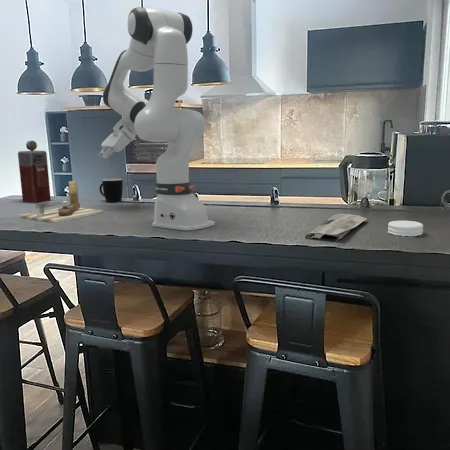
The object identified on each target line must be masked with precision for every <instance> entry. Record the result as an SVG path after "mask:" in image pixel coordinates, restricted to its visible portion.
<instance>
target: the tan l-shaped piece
mask: <svg viewBox="0 0 450 450" xmlns="http://www.w3.org/2000/svg"><path fill="white" fill-rule="evenodd" d="M78 189H79V188H78V181H77V180H71V181H70V180H69V181H68V192H69V203H68V204H67V207H68V208H62V207H58V208H59V209H58V213H59V215H69V214H72V212H73V211H75V210H77V209H79V208H81V206H80V202H79V194H78V193H79V192H78V191H79V190H78Z"/></svg>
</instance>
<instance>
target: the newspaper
mask: <svg viewBox="0 0 450 450" xmlns="http://www.w3.org/2000/svg"><path fill="white" fill-rule="evenodd" d="M367 219H368V217H363V216H361V215H359V214H349V213H347V214H346V213H338V214H334V215H332V216H330V217H329V218H328V219H326V220H325V221H324V222H322V223H321V224H319V225H318V226H317V227H315V228H314V229H312V230H310V231H309V232H308V233H307V234H305V236H304V238H306V237H307V238H306V239H308V238H310V239H311V237H312V236H314V235H315V234H326V235H327V236H332V237H336V238H337V237H338V239H337V240H336V239H335V240H336V242H338V241H339V240H341V239H342V238H343V237H344V236H346V235H347V234H348V233H349V232H350V231H352V229H354V228H357V226H359V225H360V224H361V223H364V221H366V220H367Z"/></svg>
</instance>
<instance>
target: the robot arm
mask: <svg viewBox="0 0 450 450" xmlns="http://www.w3.org/2000/svg"><path fill="white" fill-rule="evenodd" d="M193 27H194V26H193V22H192V20H191V18H190V17H189V16H188V15H187V14H184V13H183V12H175V11H171V10H166V9H164V8H157V7H156V8H154V7H153V8H152V7H150V8H149V7H144V6H142V7H141V6H139V7H133V8H132V9H131V10H130V12H129V13H128V17H127V32H128V34H129V36H130V41H129V46H128V48H127V49H125V50H122V51H121V53H120V54H119V56H118V57H117V59H116V62H115V64H114V67H113V70H112V72H111V74H110V78H109V80H108V83H107V85H106V87H105V88H104V90H103V92H102V100H103V104H104V105H105V106H106V107H108V108H110V109H112V111H113V110H114V112H116V113H118V114H119V115H120V116H121V117H122V118H121V119H119V120H118V121H117V123H115V124H114V126H113V127H112V130H113V131H112V133H110V135H108V137H106V138H105V139H104V141H103V142H102V143H101V145H100V146H101V147H102V148H101V151H100V153H98V157H99V158H101V159H102V158H103V159H105V160H107V158H108V157H110V156H111V155H112V154H113V153H114V152H115V153H120V152H121V151H123V150H124V149H125V148H126V146H128V145H129V144H130V142H133V141H135V139H136V136H137V137H139V138H140V139H141V141H146V142H151V143H166V142H168V146H167V149H166V150H165V152H163V153H162V154H161V155H159V156H158V158H157V159H156V162H155V167H156V168H155V169H156V183H155V193H156V199H155V201H154V213H153V215H154V216H153V222H152V224H151V226H152V227H155V228H163V229H170V230H179V231H196V230H201V229H206V228H210V227H213V226H215V225H216V222H215V220H214V221H213V220H210V219H209V215H208V209H207V207H206V205H205V204H204V203H202V202H201V200H200V199H198V197H197V196H195V194H194V191H193V190H195V185H194V184H193V185H191V182H190V176H189V175H190V174H189V173H190V157H191V153H192V150H193V148H194V146H195V144H197V142H198V140H199V139H200V138H201V137H202V136H203V134H204V132H205V129H206V121H205V118H204V116H203V114H202V113H201V112H199V111H197V110H193V109H189V108H175V104H176V101H177V100H178V98H179V97H181V96H182V95H184V94H185V93H186V92H187V91H188V86H189V85H188V84H189V83H188V81H189V78H188V77H189V76H188V75H189V74H188V73H189V70H188V69H189V66H188V65H189V63H188V62H189V59H188V57H189V56H188V55H189V54H188V48H187V47H188V46H187V44H188V43H189V42H190V41H191V39H192V37H193ZM150 70H153V85H152V90H151V91H152V92H151V95H150V98H149V100H148V99H146V98H140V97H138V96H137V95H135V94H134V93H132V92H131V91H129V90H128V89H127V88H126V87H125V85H124V82H125V80H126V78H127V75H128V72H129V71H133V72H134V71H135V72H141V73H142V72H148V71H150Z"/></svg>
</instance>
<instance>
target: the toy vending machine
mask: <svg viewBox="0 0 450 450" xmlns="http://www.w3.org/2000/svg"><path fill="white" fill-rule="evenodd" d="M25 146H26V149H27V150H22V151H21V150H20V151H18V153H17V158H18V168H19V179H20V187H21V197H22V203H27V202H28V204H39V203H46V202H52V201H51V189H50V177H49V164H48V158H47V157H48V154H47V151H46V150H36V149H37V148H38V147H37V146H38V144H37V142H36V141H34V140H28V141H27V142H26V144H25Z"/></svg>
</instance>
